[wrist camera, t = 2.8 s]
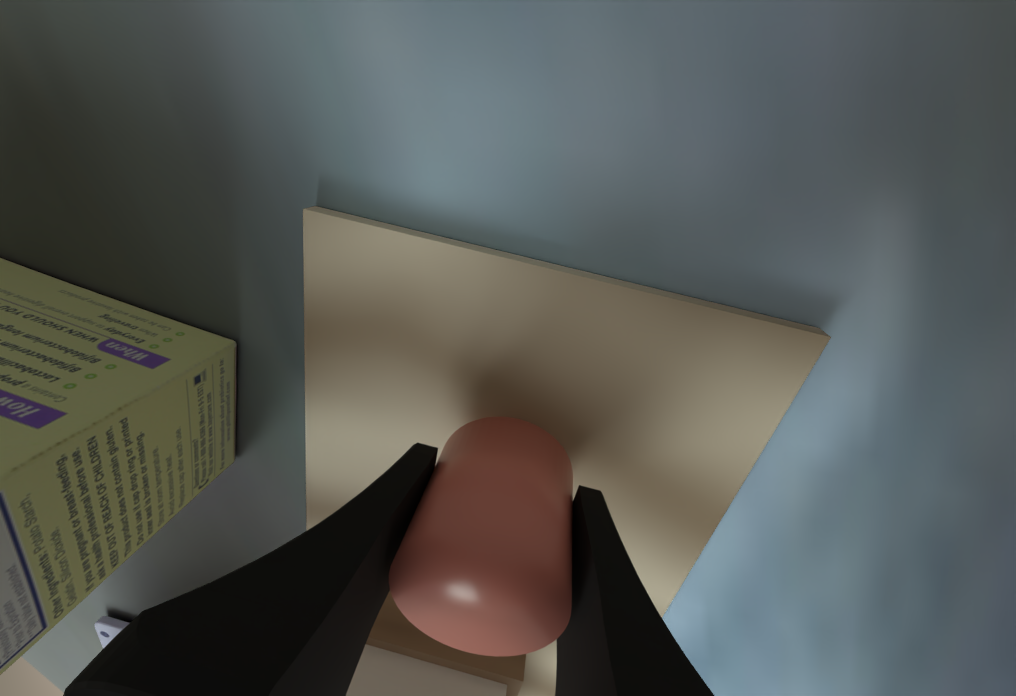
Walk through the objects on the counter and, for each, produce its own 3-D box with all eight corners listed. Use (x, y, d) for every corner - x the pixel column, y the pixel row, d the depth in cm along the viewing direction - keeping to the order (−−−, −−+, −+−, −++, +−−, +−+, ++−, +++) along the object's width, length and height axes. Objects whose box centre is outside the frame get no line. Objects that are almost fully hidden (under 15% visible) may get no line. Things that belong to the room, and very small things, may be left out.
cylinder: (553, 536, 14) (545, 674, 10) (433, 503, 14) (381, 628, 10) (589, 436, 12) (595, 561, 8) (450, 401, 12) (396, 508, 8)
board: (574, 747, 22) (574, 762, 21) (314, 671, 23) (308, 684, 22) (819, 327, 11) (831, 337, 11) (315, 206, 12) (302, 208, 11)
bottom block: (496, 712, 21) (488, 766, 19) (356, 671, 21) (335, 721, 19) (528, 626, 17) (523, 681, 16) (364, 580, 18) (340, 629, 16)
